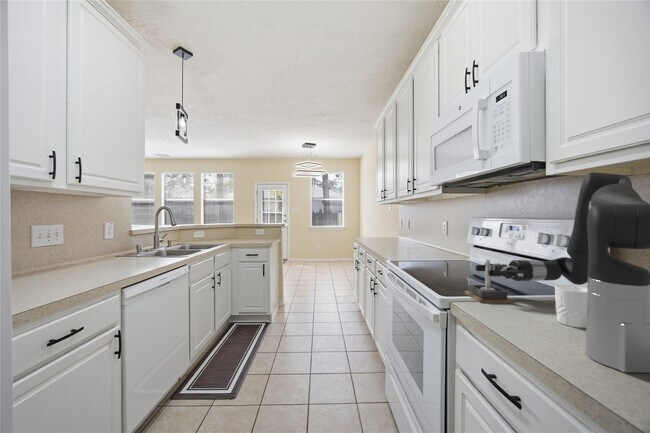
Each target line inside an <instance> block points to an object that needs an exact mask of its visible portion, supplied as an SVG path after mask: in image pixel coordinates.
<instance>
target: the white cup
mask: <svg viewBox="0 0 650 433" xmlns="http://www.w3.org/2000/svg"><path fill="white" fill-rule="evenodd" d="M587 290H588V287H584V286H583V287H582V286H580V285H572V284H556V285H555V284H554V299H555V300H554V301H555V313H556V321H557V322H558V323H559V324H561V325H564V326H568V327H572V328H578V329H586V327H587Z"/></svg>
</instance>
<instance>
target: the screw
mask: <svg viewBox="0 0 650 433" xmlns="http://www.w3.org/2000/svg"><path fill="white" fill-rule="evenodd" d="M485 264H486V266H485V267H486V268H485V271H484V274H485V276H484V277H485V278H484V285H485V287H481V288H480V290H482V291H495V289H493V288H490V286H491V285H492V284H491V280H492V279H491V278H492V276H489V275H488V270H491V269H490V268H491V266H490V264H491V261H490V259H487V260H485Z"/></svg>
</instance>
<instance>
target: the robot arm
mask: <svg viewBox="0 0 650 433" xmlns="http://www.w3.org/2000/svg"><path fill="white" fill-rule="evenodd" d="M575 209H576V210H575V214H574V221H573V225H572V226H573V227H572V231H571V235H570V238H569V241H568V244H567V247H566V254H567V255H568V256H569V257H567V256H563V257H558V258H554V259H551V260H534V259H532V260H531V259H519V260H518V259H514V260H511V261H510V262H509V263H508V264H507V263H506V264H505V263H502V264H501V263H500V262H499V263H490V267H491V268H490V269H491V270H488V275H489V276H490V277H499V278H500V277H501V278H505V279H506V280H507V279H510V280H511V279H512V280H513V281H515V282H537V281H539V282H540V281H556V280H559V279H560V278H561V277H562V276H563V277H564V278H565V279H566V280H568V281H569V282H570V283H572V284H574V285H575V286H580V285H581V286H582V285H584V284H587V289H588V290H587V327H586V328H585V329H586V332H585V333H586V334H585V336H586V341H585V343H586V344H585V353H586V355H587V357H588V358H590V359H591V360H593V361H596V363H599V364H601V365H604V366H607V367H610V368H612V369H616V370H619V371H620V372H622V373H647V374H648V373H649V374H650V270H648V269H647V268H644V267H642V266H640V265H635V264H633V263H629V262H628V261H624V260H622V259H620V258H617V257H616V256H614V255H613V254H612V253H610V252H609V249H610V248H611V249H612V248H614V249H629V250H630V249H633V250H649V249H650V202H647V201H646V200H643V198H642V196H640V194H639V193H638V191H636V190H635V189H634V188H633V183H632V181H631V179H630V177H629V176H627V175H626V174H625V175H623V174H618V173H617V174H616V173H609V172H608V173H607V172H597V171H595V172H589V173H587V174H586V175H585V176H584V178H583V181H582V183H581V186H580V189H579V194H578V199H577V203H576V208H575ZM485 266H486V263H484V264H476V265H475V271H477V272H485V268H486V267H485Z"/></svg>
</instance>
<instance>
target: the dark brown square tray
mask: <svg viewBox="0 0 650 433" xmlns="http://www.w3.org/2000/svg"><path fill="white" fill-rule="evenodd" d="M490 285H491V286H490V288H493V289H495V291H482V290H480V288H481V287H485V284H468V290H464V294H465V295H466V296H469V297H470V298H471V299H474V300H475V301H477V302H478V303H480V304H481V303H483V304H484V303H485V304H486V303H487V304H489V303H493V304H496V303H497V304H498V303H500V304H502V303H504V304H508V303H509V304H510V303H511V304H512V303H513V299H511V298H509V296H508V291H507V290H505V289H502V288H500V287H498V286H496V285H493V284H490Z"/></svg>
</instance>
